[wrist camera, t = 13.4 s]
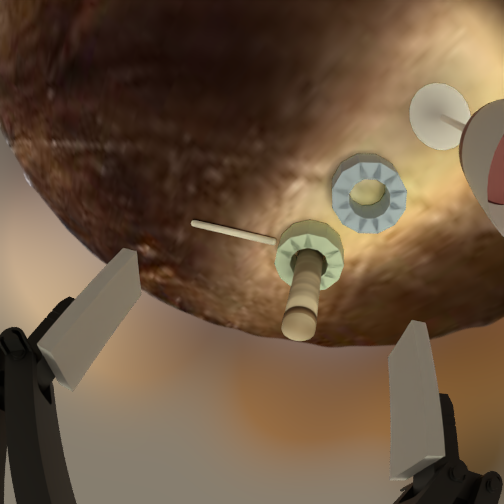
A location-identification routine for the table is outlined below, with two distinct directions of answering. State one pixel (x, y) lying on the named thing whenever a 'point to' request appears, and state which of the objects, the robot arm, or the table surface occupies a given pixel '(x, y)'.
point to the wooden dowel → (303, 296)
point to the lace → (234, 232)
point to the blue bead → (368, 215)
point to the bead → (313, 238)
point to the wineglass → (466, 141)
